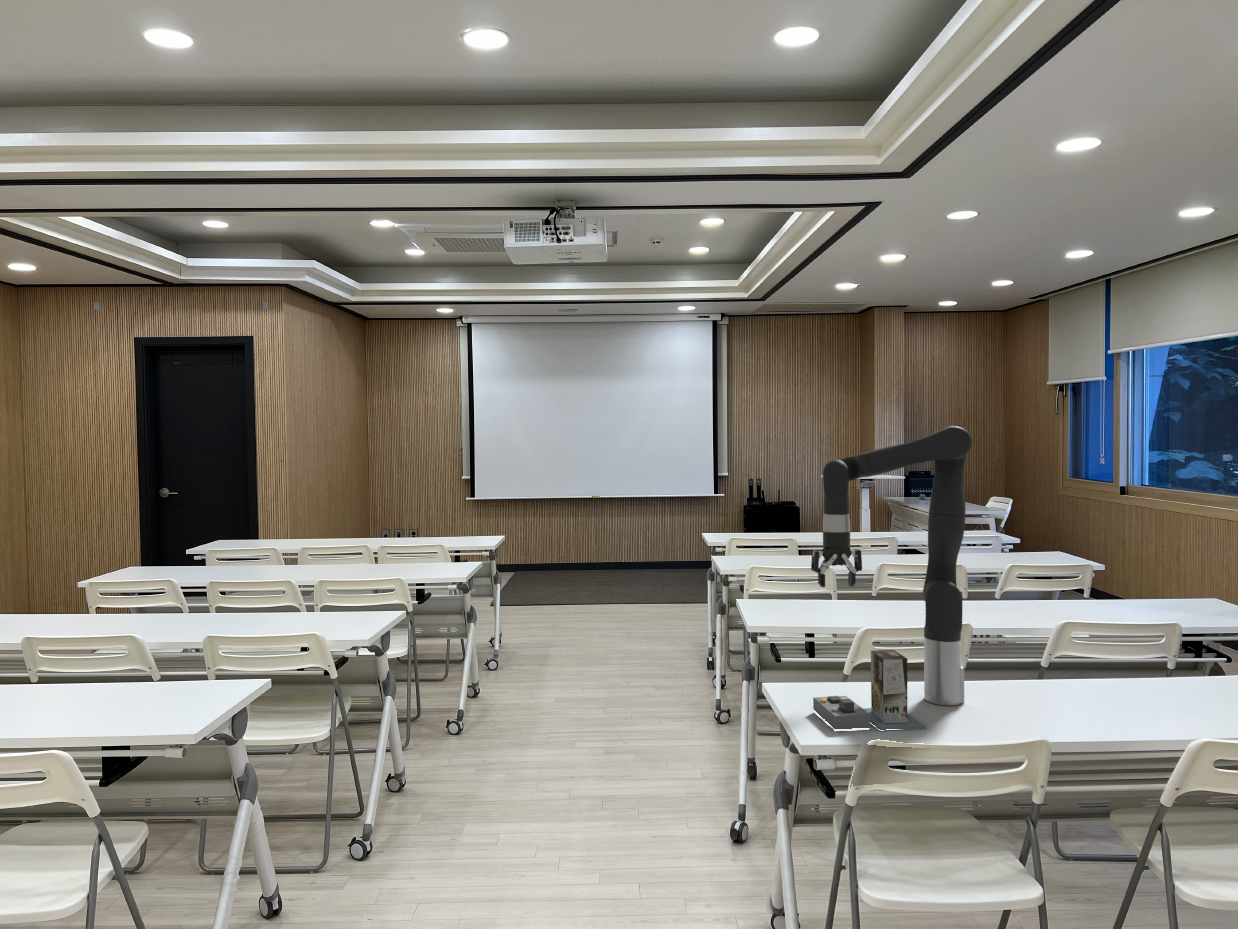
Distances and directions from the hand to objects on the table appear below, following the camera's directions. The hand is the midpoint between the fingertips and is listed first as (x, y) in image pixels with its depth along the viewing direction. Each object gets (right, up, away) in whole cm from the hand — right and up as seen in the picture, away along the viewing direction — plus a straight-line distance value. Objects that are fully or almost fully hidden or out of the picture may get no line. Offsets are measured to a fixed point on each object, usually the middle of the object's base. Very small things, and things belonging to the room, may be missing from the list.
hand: (836, 586), depth 213 cm
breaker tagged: (-6, -28, -20) cm, 35 cm away
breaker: (-5, -27, -27) cm, 39 cm away
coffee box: (+7, -30, -23) cm, 38 cm away
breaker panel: (-6, -30, -24) cm, 39 cm away
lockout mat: (+7, -30, -23) cm, 39 cm away
